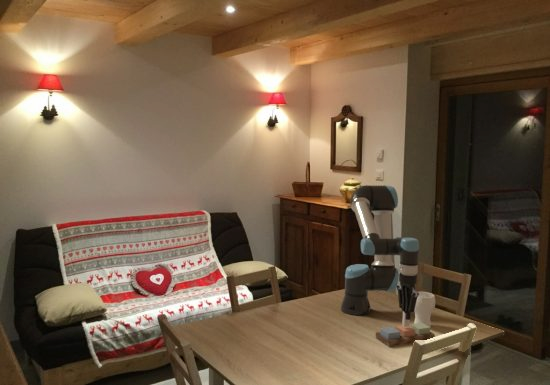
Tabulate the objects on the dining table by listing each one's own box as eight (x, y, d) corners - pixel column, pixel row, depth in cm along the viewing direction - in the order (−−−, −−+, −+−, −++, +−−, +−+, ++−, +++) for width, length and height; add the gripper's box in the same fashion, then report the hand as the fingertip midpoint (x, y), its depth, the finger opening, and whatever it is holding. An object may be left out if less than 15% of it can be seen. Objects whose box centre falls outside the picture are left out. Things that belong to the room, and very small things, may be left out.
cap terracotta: (395, 332, 217) (395, 326, 216) (406, 331, 219) (406, 324, 219) (403, 337, 211) (403, 331, 211) (415, 336, 213) (415, 329, 213)
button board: (388, 346, 206) (388, 341, 206) (375, 337, 215) (375, 332, 215) (434, 339, 215) (434, 334, 215) (420, 331, 224) (420, 326, 224)
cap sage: (410, 330, 220) (410, 324, 219) (421, 329, 222) (421, 322, 221) (418, 335, 214) (419, 329, 214) (429, 333, 216) (430, 327, 216)
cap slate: (380, 335, 214) (380, 328, 213) (391, 333, 216) (391, 326, 216) (388, 340, 208) (388, 333, 208) (399, 338, 210) (400, 331, 210)
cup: (435, 330, 226) (437, 299, 224) (411, 328, 228) (413, 297, 226) (432, 322, 236) (434, 292, 234) (410, 320, 238) (411, 290, 237)
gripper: (392, 270, 217) (389, 321, 219) (410, 278, 205) (407, 332, 207) (406, 269, 219) (403, 319, 222) (425, 276, 207) (422, 330, 210)
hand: (405, 325), depth 214 cm, fingers closed
